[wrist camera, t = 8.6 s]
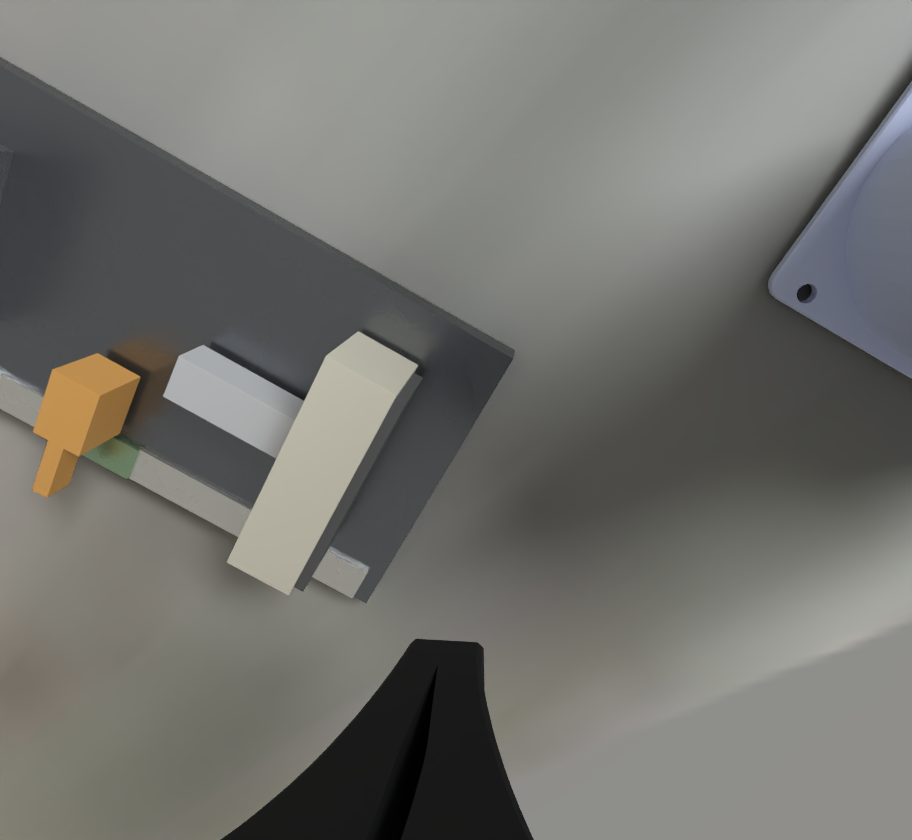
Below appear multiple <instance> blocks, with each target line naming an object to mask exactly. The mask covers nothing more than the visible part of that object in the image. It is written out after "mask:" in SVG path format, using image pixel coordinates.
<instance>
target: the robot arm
mask: <svg viewBox="0 0 912 840" xmlns="http://www.w3.org/2000/svg"><path fill="white" fill-rule="evenodd" d="M805 284H809V285H810V286H811V289H812V292H811V295H810V297H809V298H807V299H806V300H804V301H799V300H798V299H797V291H798V289H799V288H800V287H801V286H803V285H805ZM768 289H769V292H770V294H771V295H772V296H773V297H774V298H775V299H777V300H778V301H780V302H782V303H784V304H785V305H787V306H789V307H790V308H792V309H794V310H795V311H797V312H799V313H800V314H802V315H804V316H806V317H807V318H809V319H811V320H812V321H814V322H816V323H817V324H819V325H821V326H822V327H824V328H826V329H828V330H829V331H831V332H833V333H834V334H836V335H838V336H839V337H841V338H843V339H845V340H846V341H848V342H850V343H851V344H853V345H855V346H856V347H858V348H860V349H861V350H863V351H865V352H867V353H868V354H870V355H872V356H873V357H875V358H877V359H878V360H880V361H882V362H884V363H885V364H887V365H889V366H890V367H892V368H894V369H895V370H897V371H899V372H900V373H902V374H904V375H906V376H907V377H909V378H911V379H912V81H911V82H910V84H909V85H908V87H907V88H906V89H905V91H904V92H903V93H902V95H901V96H900V98H899V99H898V100H897V102H896V103H895V104H894V106H893V107H892V109H891V110H890V111H889V113H888V114H887V116H886V117H885V118H884V120H883V121H882V122H881V124H880V125H879V127H878V128H877V129H876V131H875V132H874V133H873V135H872V136H871V138H870V139H869V140H868V142H867V143H866V144H865V146H864V147H863V149H862V150H861V151H860V153H859V154H858V156H857V157H856V158H855V160H854V161H853V162H852V164H851V165H850V167H849V168H848V169H847V171H846V172H845V173H844V175H843V176H842V178H841V179H840V180H839V182H838V183H837V184H836V186H835V187H834V189H833V190H832V191H831V193H830V194H829V196H828V197H827V198H826V200H825V201H824V202H823V204H822V205H821V207H820V208H819V209H818V211H817V212H816V213H815V215H814V216H813V218H812V219H811V220H810V222H809V223H808V224H807V226H806V227H805V229H804V230H803V231H802V233H801V234H800V236H799V237H798V238H797V240H796V241H795V242H794V244H793V245H792V247H791V248H790V249H789V251H788V252H787V253H786V255H785V256H784V258H783V259H782V260H781V262H780V263H779V264H778V266H777V267H776V269H775V270H774V271H773V273H772V274H771V276H770V278H769V280H768ZM221 840H534V839H533V837H532V835H531V833H530V831H529V828H528V826H527V824H526V822H525V819H524V817H523V815H522V812H521V810H520V808H519V805H518V803H517V800H516V798H515V795H514V793H513V790H512V788H511V785H510V782H509V779H508V777H507V774H506V771H505V768H504V765H503V762H502V759H501V756H500V752H499V749H498V746H497V743H496V739H495V736H494V732H493V728H492V724H491V720H490V716H489V711H488V707H487V702H486V697H485V691H484V650H483V647H482V646H481V645H480V644H479V643H478V642H461V641H444V640H426V639H415V640H414V641H413V642H412V643H411V644H410V645H409V647H408V648H407V650H406V651H405V653H404V654H403V656H402V657H401V659H400V660H399V662H398V663H397V664H396V666H395V667H394V669H393V670H392V671H391V673H390V674H389V675H388V677H387V678H386V679H385V681H384V682H383V683H382V685H381V686H380V687H379V689H378V690H377V691H376V692H375V694H374V695H373V696H372V697H371V699H370V700H369V701H368V702H367V704H366V705H365V706H364V707H363V709H362V710H361V711H360V712H359V713H358V715H357V716H356V717H355V718H354V719H353V720H352V721H351V723H350V724H349V725H348V726H347V727H346V728H345V729H344V730H343V731H342V733H341V734H340V735H339V736H338V737H337V738H336V739H335V740H334V741H333V743H332V744H331V745H330V746H329V747H328V748H327V749H326V750H325V751H324V752H323V753H322V754H321V755H320V756H319V757H318V758H317V759H316V760H315V761H314V762H313V763H312V764H311V765H310V766H309V767H308V768H307V769H306V770H305V771H304V772H303V773H302V774H301V775H300V776H298V777H297V778H296V779H295V780H294V781H293V782H292V783H291V784H290V785H289V786H288V787H286V788H285V789H284V790H283V791H282V792H281V793H279V794H278V795H277V796H276V797H275V798H274V799H272V800H271V801H270V802H269V803H268V804H266V805H265V806H264V807H263V808H262V809H261V810H259V811H258V812H257V813H256V814H254V815H253V816H252V817H251V818H249V819H248V820H247V821H246V822H244V823H243V824H242V825H240V826H239V827H238V828H236V829H235V830H234V831H232V832H231V833H229V834H228V835H227V836H225V837H224V838H222V839H221Z"/></svg>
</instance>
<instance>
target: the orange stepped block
mask: <svg viewBox="0 0 912 840" xmlns="http://www.w3.org/2000/svg"><path fill="white" fill-rule="evenodd" d="M140 378H141V377H140V376H138V375H137V374H135V373H133V372H131V371H129V370H127V369H126V368H124V367H122V366H120V365H118V364H117V363H115V362H113V361H111V360H109V359H107V358H106V357H104V356H102V355H100V354H98V353H96V354H94V355H91V356H88V357H85V358H83V359H80V360H77V361H74V362H72V363H69V364H66V365H63V366H61V367H58V368H55V369H52V372H51V375H50V378H49V382H48V385H47V388H46V391H45V395H44V398H43V401H42V404H41V407H40V411H39V414H38V417H37V420H36V423H35V427H34V430H33V432H34V433H35V434H37V435H39V436H41V437H43V438H45V439H47V440H48V442H47V446H46V449H45V452H44V455H43V458H42V461H41V464H40V467H39V470H38V473H37V476H36V480H35V483H34V486H33V489H32V490H33V491H35V492H37V493H38V494H40V495H42V496H44V497H46V498H48V497H49V496H51V495H53V494H54V493H56V492H57V491H59V490H61V489H62V488H64V487H66V486H67V485H69V483H70V481H71V478H72V475H73V472H74V469H75V466H76V463H77V460H78V458H79V456H81V455H83V454H85V453H86V452H88V451H90V450H92V449H93V448H95V447H97V446H99V445H100V444H102V443H104V442H106V441H107V440H109V439H111V438H113V437H114V436H116V435H118V434H120V432H121V429H122V426H123V424H124V421H125V418H126V416H127V413H128V410H129V407H130V405H131V402H132V399H133V397H134V394H135V391H136V388H137V386H138V383H139V380H140Z"/></svg>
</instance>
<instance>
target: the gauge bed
mask: <svg viewBox="0 0 912 840" xmlns="http://www.w3.org/2000/svg"><path fill="white" fill-rule="evenodd" d="M358 331H359V332H361V333H362V334H364V335H366V336H368V337H369V338H371V339H373V340H375V341H377V342H378V343H380V344H382V345H384V346H385V347H387V348H389V349H391V350H392V351H394V352H396V353H398V354H400V355H401V356H403V357H405V358H407V359H408V360H410V361H412V362H414V363H416V364H417V365H418V367H417V369H416V371H415V372H414V373H416V374H417V375H419V376H421V377H423V379H422V381H421V382H420V384H419V386H418V388H417V390H416V391H415V393H414V395H413V397H412V399H411V401H410V402H409V404H408V406H407V408H406V410H405V411H404V413H403V415H402V417H401V419H400V421H399V422H398V424H397V426H396V428H395V430H394V431H393V433H392V435H391V437H390V439H389V440H388V442H387V444H386V446H385V448H384V450H383V451H382V453H381V455H380V457H379V459H378V460H377V462H376V464H375V466H374V468H373V470H372V471H371V473H370V475H369V477H368V479H367V480H366V482H365V484H364V486H363V488H362V490H361V491H360V493H359V495H358V497H357V499H356V500H355V502H354V504H353V506H352V508H351V510H350V511H349V513H348V515H347V517H346V519H345V520H344V522H343V524H342V526H341V528H340V530H339V531H338V533H337V535H336V537H335V539H334V540H333V542H332V544H331V546H330V548H329V549H328V551H327V553H326V554H325V556H324V557H323V559H322V561H321V562H320V564H319V566H318V567H317V569H316V571H315V572H314V574H313V576H312V577H313V578H315V579H317V580H318V581H320V582H322V583H324V584H326V585H328V586H330V587H331V588H333V589H335V590H337V591H339V592H341V593H343V594H344V595H346V596H348V597H350V598H353V597H356V598H358V599H360V600H361V601H363V602H365V603H367V601H368V599H369V598H370V596H371V594H372V593H373V591H374V589H375V588H376V586H377V584H378V583H379V581H380V579H381V578H382V576H383V574H384V573H385V571H386V569H387V568H388V566H389V564H390V563H391V561H392V559H393V558H394V556H395V554H396V553H397V551H398V549H399V548H400V546H401V544H402V543H403V541H404V539H405V538H406V536H407V534H408V533H409V531H410V529H411V528H412V526H413V524H414V523H415V521H416V519H417V518H418V516H419V514H420V513H421V511H422V509H423V508H424V506H425V504H426V503H427V501H428V499H429V498H430V496H431V494H432V493H433V491H434V489H435V488H436V486H437V484H438V483H439V481H440V479H441V478H442V476H443V474H444V473H445V471H446V469H447V468H448V466H449V464H450V463H451V461H452V459H453V458H454V456H455V454H456V453H457V451H458V449H459V448H460V446H461V444H462V443H463V441H464V439H465V438H466V436H467V434H468V433H469V431H470V429H471V428H472V426H473V424H474V423H475V421H476V419H477V418H478V416H479V414H480V413H481V411H482V409H483V408H484V406H485V404H486V403H487V401H488V399H489V398H490V396H491V394H492V393H493V391H494V389H495V388H496V386H497V385H498V383H499V381H500V380H501V378H502V376H503V375H504V373H505V371H506V370H507V368H508V366H509V365H510V363H511V361H512V360H513V357H514V350H513V349H511V348H509V347H507V346H506V345H504V344H502V343H500V342H499V341H497V340H495V339H493V338H492V337H490V336H488V335H486V334H485V333H483V332H481V331H479V330H478V329H476V328H474V327H472V326H471V325H469V324H467V323H465V322H464V321H462V320H460V319H458V318H457V317H455V316H453V315H451V314H450V313H448V312H446V311H444V310H443V309H441V308H439V307H437V306H436V305H434V304H432V303H430V302H429V301H427V300H425V299H423V298H422V297H420V296H418V295H416V294H415V293H413V292H411V291H409V290H408V289H406V288H404V287H402V286H401V285H399V284H397V283H395V282H394V281H392V280H390V279H388V278H387V277H385V276H383V275H381V274H380V273H378V272H376V271H374V270H373V269H371V268H369V267H367V266H365V265H364V264H362V263H360V262H358V261H357V260H355V259H353V258H351V257H350V256H348V255H346V254H344V253H343V252H341V251H339V250H337V249H336V248H334V247H332V246H330V245H329V244H327V243H325V242H323V241H322V240H320V239H318V238H316V237H315V236H313V235H311V234H309V233H308V232H306V231H304V230H302V229H301V228H299V227H297V226H295V225H294V224H292V223H290V222H288V221H287V220H285V219H283V218H281V217H280V216H278V215H276V214H274V213H273V212H271V211H269V210H267V209H266V208H264V207H262V206H260V205H259V204H257V203H255V202H253V201H252V200H250V199H248V198H246V197H245V196H243V195H241V194H239V193H238V192H236V191H234V190H232V189H231V188H229V187H227V186H225V185H224V184H222V183H220V182H218V181H217V180H215V179H213V178H211V177H210V176H208V175H206V174H204V173H203V172H201V171H199V170H197V169H196V168H194V167H192V166H190V165H188V164H187V163H185V162H183V161H181V160H180V159H178V158H176V157H174V156H173V155H171V154H169V153H167V152H166V151H164V150H162V149H160V148H159V147H157V146H155V145H153V144H152V143H150V142H148V141H146V140H145V139H143V138H141V137H139V136H138V135H136V134H134V133H132V132H131V131H129V130H127V129H125V128H124V127H122V126H120V125H118V124H117V123H115V122H113V121H111V120H110V119H108V118H106V117H104V116H103V115H101V114H99V113H97V112H96V111H94V110H92V109H90V108H89V107H87V106H85V105H83V104H82V103H80V102H78V101H76V100H75V99H73V98H71V97H69V96H68V95H66V94H64V93H62V92H61V91H59V90H57V89H55V88H54V87H52V86H50V85H48V84H47V83H45V82H43V81H41V80H40V79H38V78H36V77H34V76H33V75H31V74H29V73H27V72H26V71H24V70H22V69H20V68H19V67H17V66H15V65H13V64H11V63H10V62H8V61H6V60H4V59H3V58H1V57H0V409H1V410H3V411H5V412H7V413H9V414H11V415H12V416H14V417H16V418H18V419H20V420H22V421H24V422H25V423H27V424H29V425H31V426H33V427H35V423H36V420H37V417H38V414H39V411H40V407H41V404H42V401H43V398H44V395H45V391H46V388H47V385H48V382H49V378H50V375H51V372H52V369H55V368H58V367H61V366H63V365H66V364H69V363H72V362H74V361H77V360H80V359H83V358H85V357H88V356H91V355H94V354H96V353H98V354H100V355H102V356H104V357H106V358H107V359H109V360H111V361H113V362H115V363H117V364H118V365H120V366H122V367H124V368H126V369H127V370H129V371H131V372H133V373H135V374H137V375H138V376H140V377H141V378H140V380H139V383H138V386H137V388H136V391H135V394H134V397H133V399H132V402H131V405H130V407H129V410H128V413H127V416H126V418H125V421H124V424H123V426H122V429H121V432H120V434H118V435H116V436H114V437H113V438H111V439H109V440H107V441H106V442H104V443H102V444H100V445H99V446H97V447H95V448H93V449H92V450H90V451H88V452H86V453H85V454H83V456H84V457H86V458H88V459H90V460H92V461H94V462H96V463H97V464H99V465H101V466H103V467H105V468H107V469H109V470H110V471H112V472H114V473H116V474H118V475H120V476H121V477H123V478H125V479H128V478H129V479H131V480H133V481H135V482H137V483H139V484H140V485H142V486H144V487H146V488H148V489H150V490H152V491H153V492H155V493H157V494H159V495H161V496H163V497H165V498H166V499H168V500H170V501H172V502H174V503H176V504H178V505H179V506H181V507H183V508H185V509H187V510H189V511H190V512H192V513H194V514H196V515H198V516H200V517H202V518H203V519H205V520H207V521H209V522H211V523H213V524H215V525H216V526H218V527H220V528H222V529H224V530H226V531H228V532H229V533H231V534H233V535H235V536H237V537H239V535H240V533H241V531H242V529H243V527H244V525H245V523H246V521H247V519H248V517H249V515H250V513H251V511H252V508H253V506H254V504H255V502H256V500H257V498H258V496H259V494H260V492H261V490H262V488H263V486H264V484H265V481H266V479H267V477H268V475H269V473H270V471H271V469H272V467H273V465H274V463H275V461H276V458H274V457H272V456H271V455H269V454H267V453H265V452H263V451H262V450H260V449H258V448H256V447H254V446H252V445H251V444H249V443H247V442H245V441H243V440H241V439H240V438H238V437H236V436H234V435H232V434H231V433H229V432H227V431H225V430H223V429H221V428H220V427H218V426H216V425H214V424H212V423H210V422H209V421H207V420H205V419H203V418H201V417H200V416H198V415H196V414H194V413H192V412H190V411H189V410H187V409H185V408H183V407H181V406H179V405H178V404H176V403H174V402H172V401H170V400H169V399H167V398H165V397H163V395H164V393H165V390H166V388H167V385H168V382H169V380H170V377H171V375H172V372H173V370H174V367H175V364H176V362H177V359H178V357H179V356H180V355H182V354H184V353H186V352H188V351H191V350H193V349H195V348H197V347H199V346H202V345H204V346H206V347H208V348H210V349H211V350H213V351H215V352H217V353H219V354H220V355H222V356H224V357H226V358H228V359H229V360H231V361H233V362H235V363H237V364H238V365H240V366H242V367H244V368H246V369H247V370H249V371H251V372H253V373H255V374H256V375H258V376H260V377H262V378H264V379H265V380H267V381H269V382H271V383H273V384H274V385H276V386H278V387H280V388H282V389H283V390H285V391H287V392H289V393H291V394H292V395H294V396H296V397H298V398H300V399H301V400H303V401H304V400H305V398H306V396H307V394H308V392H309V390H310V388H311V386H312V384H313V382H314V380H315V378H316V376H317V373H318V371H319V369H320V367H321V365H322V363H323V361H324V359H325V357H326V355H328V354H329V353H330V352H332V351H333V350H334V349H336V348H337V347H338V346H339V345H341V344H342V343H343V342H345V341H346V340H347V339H349V338H350V337H351V336H353V335H354V334H355V333H357V332H358Z"/></svg>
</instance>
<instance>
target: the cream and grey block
mask: <svg viewBox="0 0 912 840" xmlns="http://www.w3.org/2000/svg"><path fill="white" fill-rule="evenodd" d="M417 367H418V365H417V364H416V363H414V362H412V361H410V360H408V359H407V358H405V357H403V356H401V355H400V354H398V353H396V352H394V351H392V350H391V349H389V348H387V347H385V346H384V345H382V344H380V343H378V342H377V341H375V340H373V339H371V338H369V337H368V336H366V335H364V334H362V333H361V332H359V331H358V332H357V333H355V334H354V335H353V336H351V337H350V338H349V339H347V340H346V341H345V342H343V343H342V344H341V345H339V346H338V347H337V348H336V349H334V350H333V351H332V352H330V353H329V354H328V355H326V357H325V359H324V361H323V363H322V365H321V367H320V369H319V371H318V373H317V376H316V378H315V380H314V382H313V384H312V386H311V388H310V390H309V392H308V394H307V396H306V398H305V400H304V401H303V400H301V399H300V398H298V397H296V396H294V395H292V394H291V393H289V392H287V391H285V390H283V389H282V388H280V387H278V386H276V385H274V384H273V383H271V382H269V381H267V380H265V379H264V378H262V377H260V376H258V375H256V374H255V373H253V372H251V371H249V370H247V369H246V368H244V367H242V366H240V365H238V364H237V363H235V362H233V361H231V360H229V359H228V358H226V357H224V356H222V355H220V354H219V353H217V352H215V351H213V350H211V349H210V348H208V347H206V346H204V345H202V346H199V347H197V348H195V349H193V350H191V351H188V352H186V353H184V354H182V355H180V356H179V357H178V359H177V362H176V364H175V367H174V370H173V372H172V375H171V377H170V380H169V382H168V385H167V388H166V390H165V393H164V395H163V397H165V398H167V399H169V400H170V401H172V402H174V403H176V404H178V405H179V406H181V407H183V408H185V409H187V410H189V411H190V412H192V413H194V414H196V415H198V416H200V417H201V418H203V419H205V420H207V421H209V422H210V423H212V424H214V425H216V426H218V427H220V428H221V429H223V430H225V431H227V432H229V433H231V434H232V435H234V436H236V437H238V438H240V439H241V440H243V441H245V442H247V443H249V444H251V445H252V446H254V447H256V448H258V449H260V450H262V451H263V452H265V453H267V454H269V455H271V456H272V457H274V458H276V461H275V463H274V465H273V467H272V469H271V471H270V473H269V475H268V477H267V479H266V481H265V484H264V486H263V488H262V490H261V492H260V494H259V496H258V498H257V500H256V502H255V504H254V506H253V508H252V511H251V513H250V515H249V517H248V519H247V521H246V523H245V525H244V527H243V529H242V531H241V533H240V535H239V538H238V540H237V542H236V544H235V546H234V548H233V550H232V552H231V554H230V556H229V558H228V560H227V563H229V564H231V565H232V566H234V567H236V568H238V569H240V570H242V571H244V572H245V573H247V574H249V575H251V576H253V577H255V578H257V579H258V580H260V581H262V582H264V583H266V584H268V585H270V586H272V587H273V588H275V589H277V590H279V591H281V592H283V593H285V594H286V595H288V596H289V594H290V593H291V591H292V589H293V588H294V587H295V588H297V589H299V590H301V591H304V589H305V587H306V586H307V584H308V582H309V581H310V579H311V577H312V576H313V574H314V572H315V571H316V569H317V567H318V566H319V564H320V562H321V561H322V559H323V557H324V556H325V554H326V553H327V551H328V549H329V548H330V546H331V544H332V542H333V540H334V539H335V537H336V535H337V533H338V531H339V530H340V528H341V526H342V524H343V522H344V520H345V519H346V517H347V515H348V513H349V511H350V510H351V508H352V506H353V504H354V502H355V500H356V499H357V497H358V495H359V493H360V491H361V490H362V488H363V486H364V484H365V482H366V480H367V479H368V477H369V475H370V473H371V471H372V470H373V468H374V466H375V464H376V462H377V460H378V459H379V457H380V455H381V453H382V451H383V450H384V448H385V446H386V444H387V442H388V440H389V439H390V437H391V435H392V433H393V431H394V430H395V428H396V426H397V424H398V422H399V421H400V419H401V417H402V415H403V413H404V411H405V410H406V408H407V406H408V404H409V402H410V401H411V399H412V397H413V395H414V393H415V391H416V390H417V388H418V386H419V384H420V382H421V381H422V379H423V377H421V376H419V375H417V374H416V373H414V372H415V371H416V369H417Z"/></svg>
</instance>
